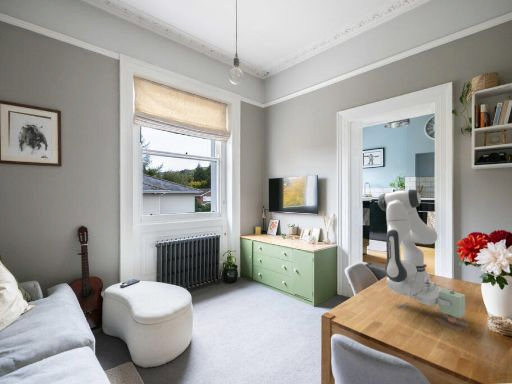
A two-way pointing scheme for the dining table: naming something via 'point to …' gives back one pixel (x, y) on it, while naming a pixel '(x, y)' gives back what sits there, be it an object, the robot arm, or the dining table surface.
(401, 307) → the mat
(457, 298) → the mint green lunchbox
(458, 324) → the board
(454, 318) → the bowl
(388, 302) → the dining table surface
